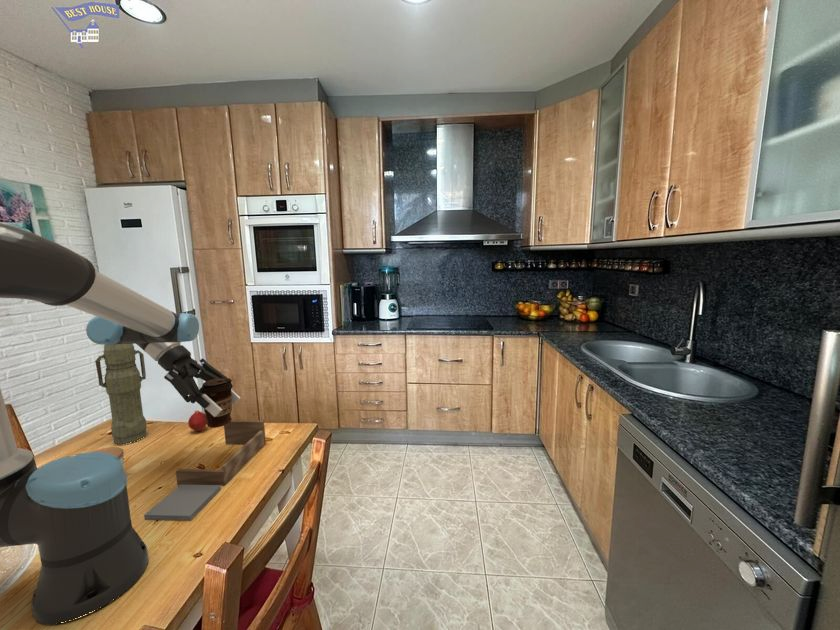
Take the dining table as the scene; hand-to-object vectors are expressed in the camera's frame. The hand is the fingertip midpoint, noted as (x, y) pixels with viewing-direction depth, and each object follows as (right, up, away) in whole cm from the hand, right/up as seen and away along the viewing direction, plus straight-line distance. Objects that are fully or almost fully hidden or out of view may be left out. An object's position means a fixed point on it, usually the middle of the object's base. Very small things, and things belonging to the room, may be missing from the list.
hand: (228, 406), depth 97 cm
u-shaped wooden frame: (-2, -17, +3) cm, 18 cm away
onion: (-23, -15, +22) cm, 36 cm away
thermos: (-44, -16, +17) cm, 49 cm away
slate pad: (-2, -20, -15) cm, 25 cm away
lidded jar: (-31, -19, -7) cm, 37 cm away
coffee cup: (-3, -5, +1) cm, 6 cm away
